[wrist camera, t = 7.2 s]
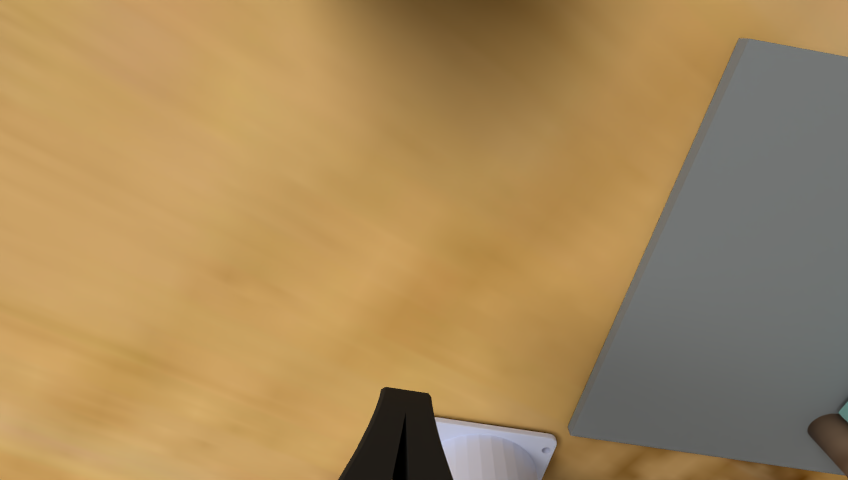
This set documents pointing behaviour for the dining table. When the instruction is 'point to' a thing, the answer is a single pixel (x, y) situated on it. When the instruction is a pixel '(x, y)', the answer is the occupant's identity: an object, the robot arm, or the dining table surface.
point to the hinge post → (832, 438)
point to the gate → (844, 412)
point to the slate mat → (741, 278)
